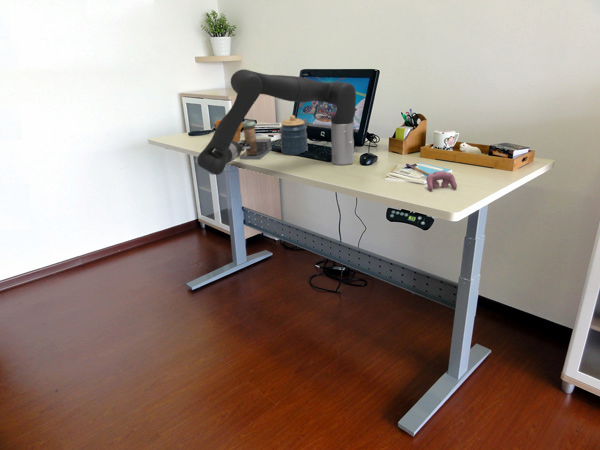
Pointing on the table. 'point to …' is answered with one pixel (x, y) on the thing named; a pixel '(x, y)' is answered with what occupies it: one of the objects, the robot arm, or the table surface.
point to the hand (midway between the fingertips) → (244, 142)
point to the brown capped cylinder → (250, 136)
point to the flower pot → (237, 135)
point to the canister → (293, 136)
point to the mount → (259, 149)
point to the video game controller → (441, 175)
